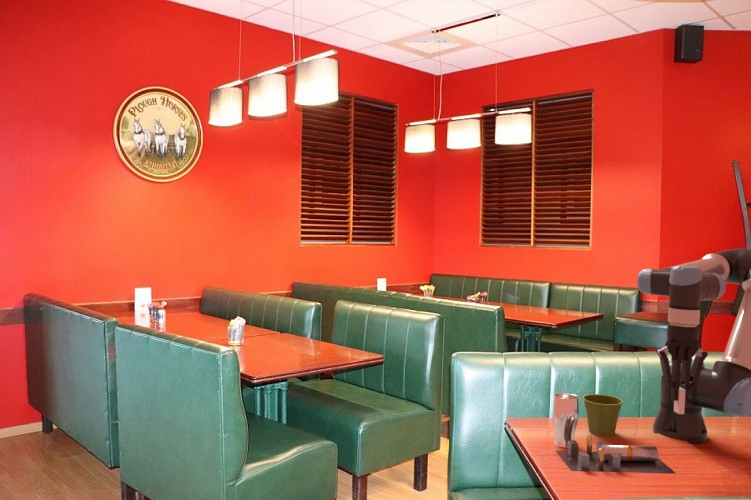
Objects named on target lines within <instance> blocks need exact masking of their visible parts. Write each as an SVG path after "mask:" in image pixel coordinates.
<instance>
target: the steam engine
mask: <svg viewBox="0 0 751 500" xmlns="http://www.w3.org/2000/svg"><path fill="white" fill-rule="evenodd" d="M601 445H609V444H608V443H607V442H606V441H604V440H597V441H596V451H593V436H589V435H588V436H586V451H583V450H582V451H581V450H580V451H579V443H578V441H576V440H568V448H567V450H555V453H557V455H558V456H559V458H560V459H561V460H562V461H563V463H564V464H565V465H566V466H567V467H568V469H569V470H570V471H571V472H592V473H593V472H596V473H597V472H600V473H603V472H604V473H633V474H634V473H635V474H637V473H638V474H642V473H643V474H672V475H675V474H676V475H677V473H676V472H675V471H674V470H673V469H672V468H670V466H669V465H667V464H666V463H664V461H662V460H661V459H659V458H658V461H657V462H643V461H621V457H620V456H619V455H618V454H617V453H609V460H608V461H605V460H604V449H603V448H601Z"/></svg>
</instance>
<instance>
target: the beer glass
mask: <svg viewBox="0 0 751 500" xmlns="http://www.w3.org/2000/svg"><path fill="white" fill-rule="evenodd" d="M553 399H554V400H553V410H552V412H553V413H552V414H553V422H554V431H555V434H554V435H555V437H554V441H553V444H554V445H555V446H557V447H561V448H565V449H568V440H575V437H576V436H575V435H576V428H577V425H578V422H579V420H578V419H579V411H580V410H579V408H580V405H579V404H580V403H579V402H580V401H579V396H578V395H576V394H573V393H569V392H568V393H567V392H557V393H555V394H554V398H553ZM575 441H576V440H575Z"/></svg>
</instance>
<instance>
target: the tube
mask: <svg viewBox="0 0 751 500" xmlns="http://www.w3.org/2000/svg"><path fill="white" fill-rule="evenodd" d="M601 448H603V449H604V460H605V461H608V460H609V453H617V454H618V455H619V456H620V457H621V461H643V462H657V461H658V459H659V451H658V448H657V447H656V446H655V445H627V444H624V445H623V444H622V445H621V444H608V445H601Z"/></svg>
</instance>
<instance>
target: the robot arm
mask: <svg viewBox="0 0 751 500" xmlns="http://www.w3.org/2000/svg"><path fill="white" fill-rule="evenodd" d="M636 281H637V283H636V284H637V289H638V290H639V291H640V293H642V294H645V295H651V296H659V297H668V313H667V322H668V325H667V329H666V330H667V331H666V339H667V340H666V342H665V344H664V345H665V346H663V347H662V348H660V349H659V348H657V349H656V350H655V352H656V354H657V356H658V357H659V361H660V366H661V367H660V368H661V373H660V395H659V397H660V398H659V399H660V400H659V401H660V403H659V405H660V406H659V409H658V411H657V414H656V416H655V419H654V421H653V422H652V432H653V433H654V434H660V435H662V436H663V437H667V438H671V439H676V440H681V441H686V442H687V443H689V444H700V443H705V442H706V441H708V430H707V426H706V423H705V419H704V417H703V416H704V415H703V408H704V409H707V410H711V411H715V412H719V413H723V414H726V415H728V416H736V417H741V418H746V417H749V416H750V415H751V248H743V247H741V248H732V249H726V250H720V251H717V252H713V253H709V254H706V255H705V256H703V257H701V259H697V260H694V261H690V262H686V263H682V264H681V263H680V264H676V265H673V266H669V267H664V268H659V269H656V268H644V269H642V270H641V271H640V272H639V273H638V276H637V280H636ZM727 284H733V285H741V287H742V289H743V290H744V295H743V297H742V299H741V302H740V303H741V304H740V305H739V309H738V312H737V315H736V317H735V320H734V324H733V326H732V330H731V332H730V336H729V339H728V340H727V343H726V344H727V345H726V346H725V350H724V353H723V356H722V358H721V359H717V360H715V362H714V364H713V367H712V368H708V367H707V368H706V364H705V363H704V362H705V360H706V358H707V357H708V356H709V353H708V352H707V351H704V350H703V349H701V348H700V344H699V339H700V327H699V326H698V325H700V322H701V321H700V320H701V318H700V317H701V302H702V301H708V302H711V301H714V300H718V299H719V298H721V297H723V296H724V294H725V293H726V288H727V287H726V285H727ZM669 355H670V357H671V358H670V359H671V360H669V357H668V356H669ZM694 356H695V357H694ZM693 358H694V359H693Z"/></svg>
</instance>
